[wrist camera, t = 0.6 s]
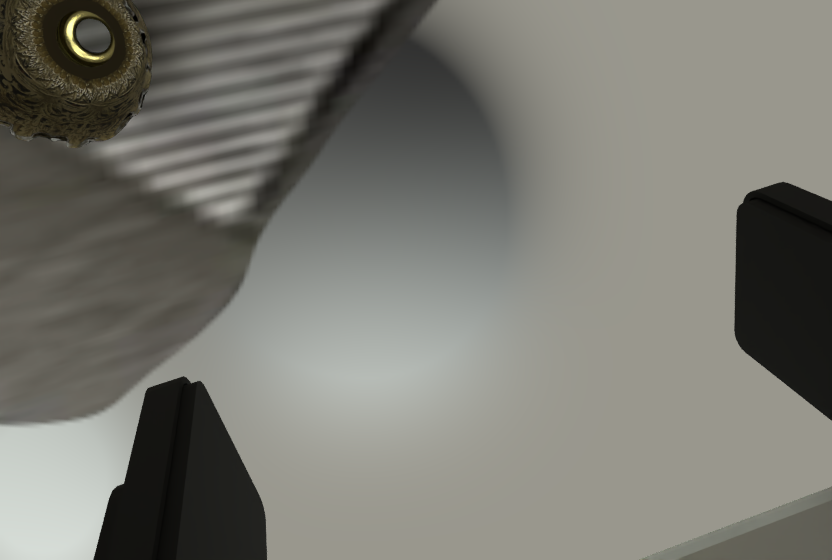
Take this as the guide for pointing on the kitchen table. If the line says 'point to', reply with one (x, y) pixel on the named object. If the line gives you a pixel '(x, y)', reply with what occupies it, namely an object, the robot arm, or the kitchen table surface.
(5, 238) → the kitchen table surface
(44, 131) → the cup
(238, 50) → the kitchen table surface
